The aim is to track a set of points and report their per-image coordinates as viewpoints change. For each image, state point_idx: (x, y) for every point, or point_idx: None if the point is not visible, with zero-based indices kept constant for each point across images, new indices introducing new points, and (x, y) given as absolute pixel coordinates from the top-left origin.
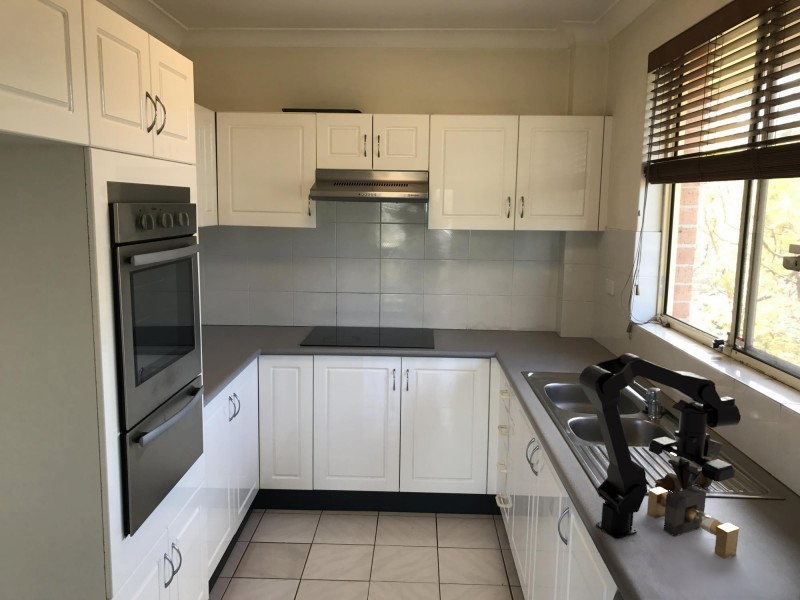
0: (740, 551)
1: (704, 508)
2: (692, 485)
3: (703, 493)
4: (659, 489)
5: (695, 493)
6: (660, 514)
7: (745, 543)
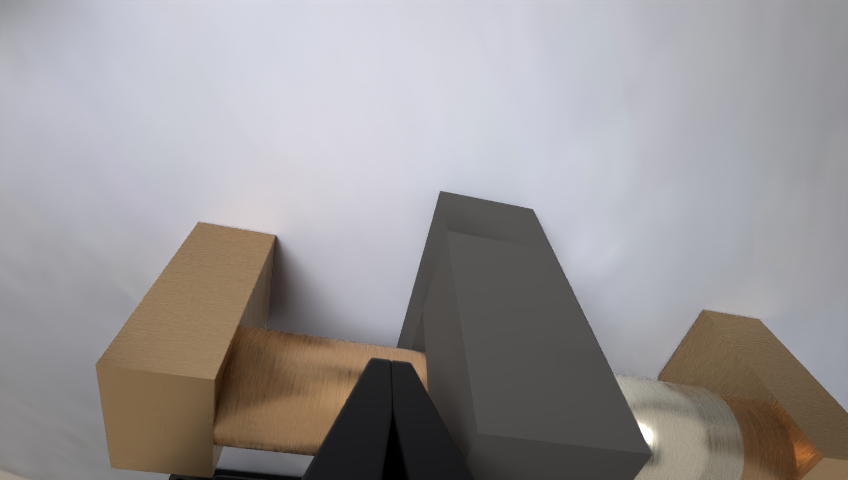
0: (781, 272)
1: (576, 300)
2: (451, 454)
3: (624, 475)
4: (144, 404)
5: None
6: (267, 292)
7: (812, 162)
